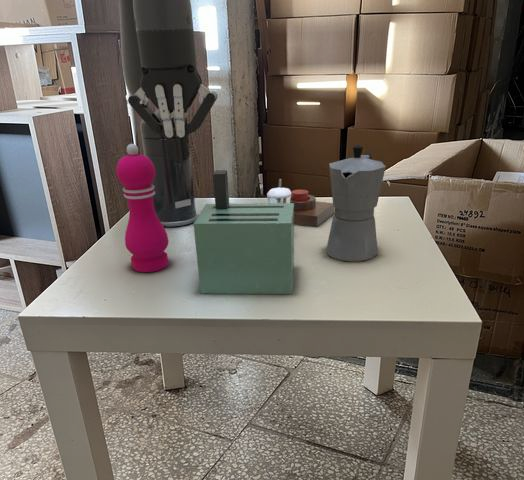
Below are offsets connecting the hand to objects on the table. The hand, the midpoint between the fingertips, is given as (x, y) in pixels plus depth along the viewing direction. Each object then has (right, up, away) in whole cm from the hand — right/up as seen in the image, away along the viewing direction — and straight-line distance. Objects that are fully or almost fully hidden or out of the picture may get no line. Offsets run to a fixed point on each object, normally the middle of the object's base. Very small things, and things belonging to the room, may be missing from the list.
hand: (180, 163), depth 78 cm
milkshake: (+16, -5, +24) cm, 30 cm away
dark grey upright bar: (+6, -6, +3) cm, 9 cm away
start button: (+20, +4, +32) cm, 38 cm away
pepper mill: (-7, -13, +13) cm, 20 cm away
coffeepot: (+29, -10, +16) cm, 34 cm away
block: (+20, +1, +34) cm, 39 cm away
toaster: (+10, -17, +6) cm, 20 cm away
